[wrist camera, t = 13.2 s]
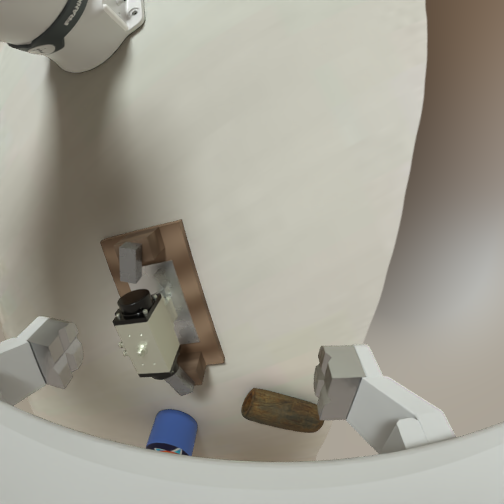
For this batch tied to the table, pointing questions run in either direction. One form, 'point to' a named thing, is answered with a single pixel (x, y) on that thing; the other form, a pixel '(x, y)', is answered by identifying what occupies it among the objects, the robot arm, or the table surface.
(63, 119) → the table surface
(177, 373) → the grey long bracket
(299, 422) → the brown wooden cylinder
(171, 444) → the water bottle
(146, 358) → the pneumatic valve
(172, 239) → the shaft rig base
